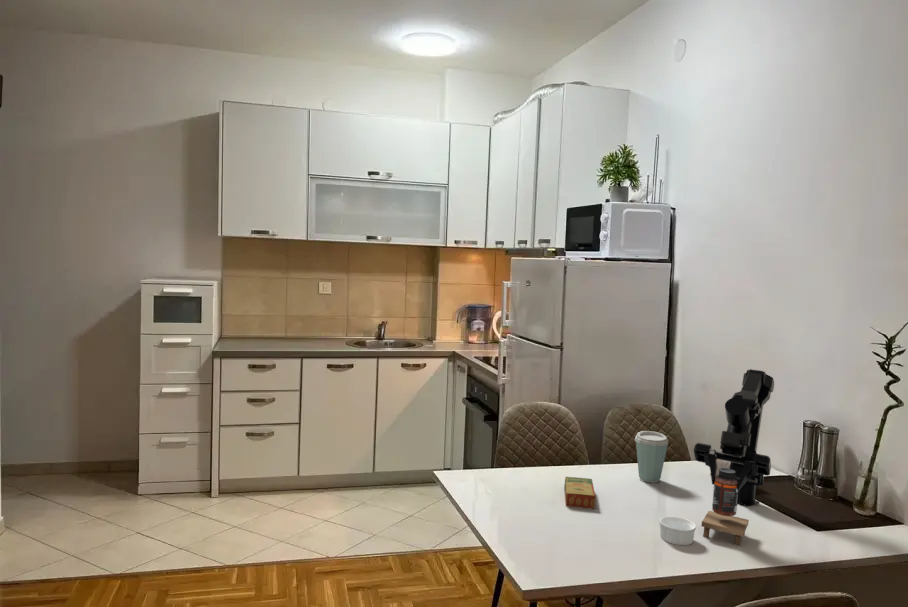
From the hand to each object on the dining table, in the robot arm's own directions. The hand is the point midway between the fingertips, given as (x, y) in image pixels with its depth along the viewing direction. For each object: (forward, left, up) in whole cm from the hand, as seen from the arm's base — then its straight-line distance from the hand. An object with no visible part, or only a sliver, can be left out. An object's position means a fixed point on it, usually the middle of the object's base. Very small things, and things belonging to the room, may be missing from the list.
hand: (725, 486), depth 176 cm
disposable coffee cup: (-17, -42, -13) cm, 47 cm away
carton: (+17, -37, -14) cm, 42 cm away
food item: (-44, -31, -14) cm, 56 cm away
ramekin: (+13, -4, -14) cm, 19 cm away
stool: (-1, 0, -13) cm, 13 cm away
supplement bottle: (-1, -1, -8) cm, 8 cm away
